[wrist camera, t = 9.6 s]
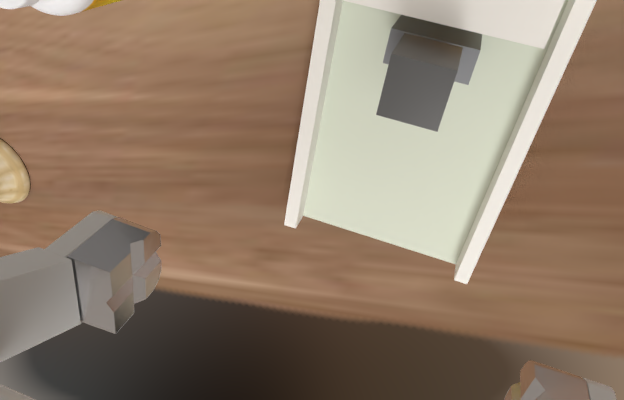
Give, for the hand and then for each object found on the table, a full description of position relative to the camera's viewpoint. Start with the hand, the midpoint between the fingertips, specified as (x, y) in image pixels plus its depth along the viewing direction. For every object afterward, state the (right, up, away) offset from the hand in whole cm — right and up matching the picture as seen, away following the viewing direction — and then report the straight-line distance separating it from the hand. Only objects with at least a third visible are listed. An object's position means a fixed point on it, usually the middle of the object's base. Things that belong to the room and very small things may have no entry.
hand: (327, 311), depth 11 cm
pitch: (+7, +10, +24) cm, 27 cm away
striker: (+8, +13, +21) cm, 26 cm away
